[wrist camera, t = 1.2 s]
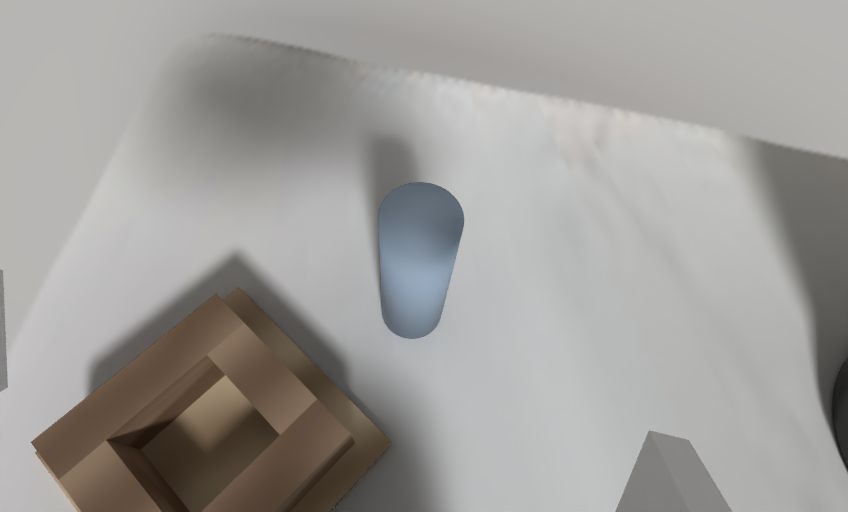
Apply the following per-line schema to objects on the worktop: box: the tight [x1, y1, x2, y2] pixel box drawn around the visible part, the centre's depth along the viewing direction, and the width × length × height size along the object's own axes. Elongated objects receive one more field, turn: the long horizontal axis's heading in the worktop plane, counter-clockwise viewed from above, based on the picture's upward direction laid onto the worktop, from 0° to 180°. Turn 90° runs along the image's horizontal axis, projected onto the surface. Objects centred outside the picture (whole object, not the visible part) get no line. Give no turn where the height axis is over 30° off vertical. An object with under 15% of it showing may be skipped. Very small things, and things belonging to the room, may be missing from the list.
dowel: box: [378, 182, 464, 339], centre depth 30 cm, size 4×4×12 cm
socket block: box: [31, 288, 392, 512], centre depth 28 cm, size 14×14×5 cm
